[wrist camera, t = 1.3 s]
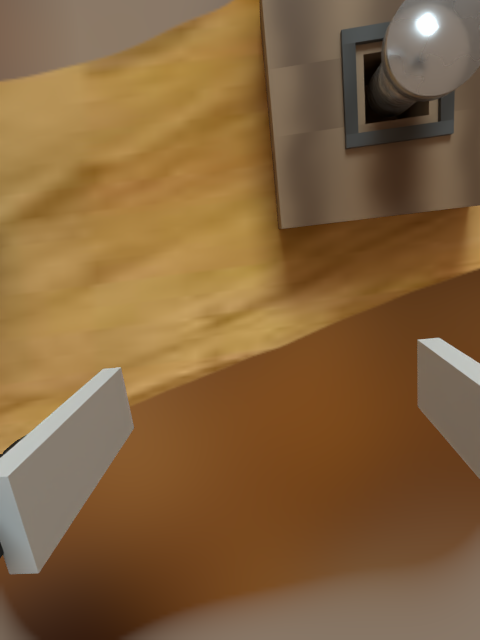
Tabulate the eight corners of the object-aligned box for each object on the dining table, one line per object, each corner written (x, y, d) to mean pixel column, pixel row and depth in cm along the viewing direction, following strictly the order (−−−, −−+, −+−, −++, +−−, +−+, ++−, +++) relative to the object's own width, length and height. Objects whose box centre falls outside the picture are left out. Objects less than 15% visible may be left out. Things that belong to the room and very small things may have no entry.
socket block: (278, 228, 40) (281, 228, 32) (260, 17, 35) (258, -47, 27) (469, 206, 38) (526, 199, 30) (477, -21, 33) (547, -104, 25)
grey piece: (355, 135, 31) (388, 101, 23) (353, 55, 29) (386, -11, 21) (428, 124, 30) (488, 86, 22) (429, 42, 29) (493, -30, 21)
